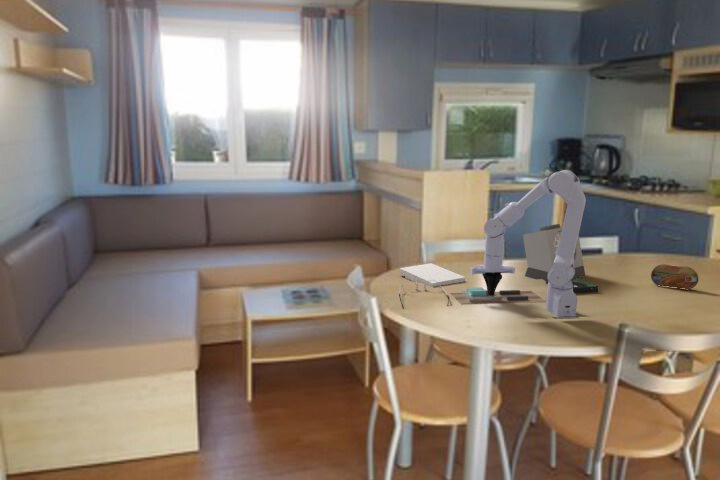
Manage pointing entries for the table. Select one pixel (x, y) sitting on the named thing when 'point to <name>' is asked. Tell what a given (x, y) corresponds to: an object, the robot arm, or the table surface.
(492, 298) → the grey slab
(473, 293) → the plug
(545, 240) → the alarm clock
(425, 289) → the eyeglasses
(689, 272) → the tin
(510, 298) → the grey blocks
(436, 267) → the white flat block
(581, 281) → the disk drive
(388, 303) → the table surface
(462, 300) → the base board
